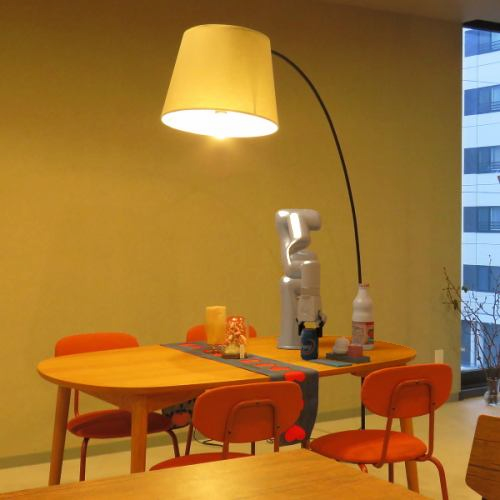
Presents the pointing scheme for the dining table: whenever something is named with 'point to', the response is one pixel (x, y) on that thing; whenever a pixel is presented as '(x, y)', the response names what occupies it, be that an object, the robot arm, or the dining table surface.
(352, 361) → the game base
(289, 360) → the dining table surface
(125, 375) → the dining table surface
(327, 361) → the board
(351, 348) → the red die
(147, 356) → the dining table surface
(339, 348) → the dome
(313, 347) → the soda can
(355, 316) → the fruit juice
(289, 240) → the robot arm
